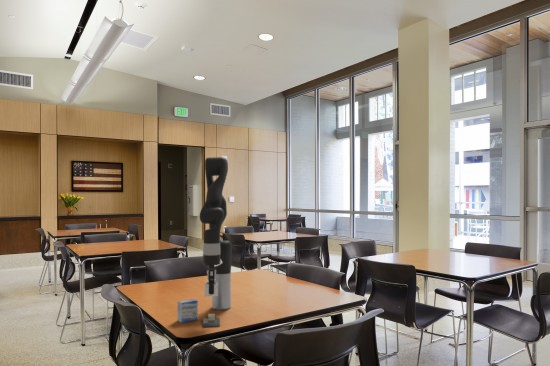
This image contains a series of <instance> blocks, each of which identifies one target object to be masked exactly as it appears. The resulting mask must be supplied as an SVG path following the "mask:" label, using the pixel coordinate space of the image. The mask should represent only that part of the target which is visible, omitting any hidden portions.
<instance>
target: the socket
mask: <svg viewBox="0 0 550 366" xmlns="http://www.w3.org/2000/svg"><path fill="white" fill-rule="evenodd" d="M208 283H209V282H208V281H205V282H204V297H208V298H209V297H212V296H218V282H214V283H215V285H214V294H209V285H208Z"/></svg>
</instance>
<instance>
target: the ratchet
mask: <svg viewBox="0 0 550 366" xmlns="http://www.w3.org/2000/svg"><path fill="white" fill-rule="evenodd" d="M202 321H203V322H202V327H203V328H209V327H210V328H211V327H221V322H220V321H221V319H220V317H216V313H208V314H207V317H206V318H203V319H202Z"/></svg>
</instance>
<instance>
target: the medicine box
mask: <svg viewBox="0 0 550 366" xmlns="http://www.w3.org/2000/svg"><path fill="white" fill-rule="evenodd" d="M198 302H199V301H198V300H197V299H195V298H193V299H192V298H191V299H186V300H179V301H177V317H176V318H177V322H179V323H181V324H184V323H189V322H193V321H197V320H198V309H199V308H198V305H199V304H198Z"/></svg>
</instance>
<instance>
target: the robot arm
mask: <svg viewBox="0 0 550 366" xmlns="http://www.w3.org/2000/svg"><path fill="white" fill-rule="evenodd" d="M204 161H205V162H204V172H205V180H206V189H207V192H206V198H205V201H204V204H203V206H202V208H201V209H200V212H199V221H200V222H201V223H202V224H205V225H206V224H207V225H208V228H207V229H205V230H204V231H203V245H202V264H203V265H204V266H208V268H206V274H207V282H209V283H208V285H209V294H214V285H215V283H214V282H218V296H211V300H212V301H211V303H212V305H211V308H212V309H213V310H219V311H220V310H223V311H224V310H228V309H230V308H232V306H231V305H232V302H231V301H232V298H231V297H232V290H231V289H232V279H231V276H232V275H231V274H232V272H231V271H232V258H233V257H232V256H233V254H232V253H233V244H232V242H231V241H229V240H221V229H222V225H223V223H224V222H225V220H226V217H227V215H228V210H227V200H226V198H225V197H224V195H223V190H224V187H225V183H226V179H227V176H228V170H229V165H228V159H227V158H226V157H225V156H214V157H206V158H205V160H204ZM214 177H216V179H214ZM221 260H222V262H221Z"/></svg>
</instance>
